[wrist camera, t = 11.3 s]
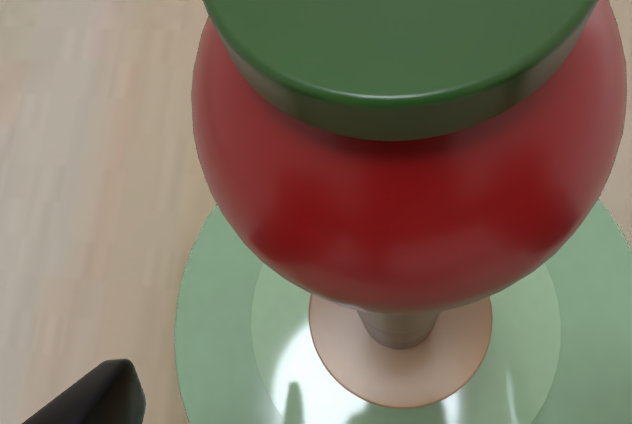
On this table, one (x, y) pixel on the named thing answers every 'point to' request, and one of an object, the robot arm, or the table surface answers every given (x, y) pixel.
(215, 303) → the plate
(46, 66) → the table surface
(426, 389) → the strawberry fork
